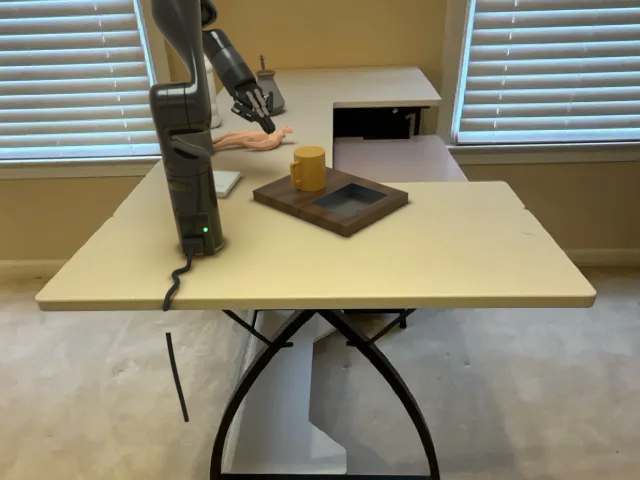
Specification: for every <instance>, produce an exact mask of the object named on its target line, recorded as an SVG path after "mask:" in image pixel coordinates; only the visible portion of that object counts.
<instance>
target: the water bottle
mask: <svg viewBox="0 0 640 480" xmlns="http://www.w3.org/2000/svg"><path fill="white" fill-rule="evenodd" d="M203 53H204V52H203ZM204 60H205V67H206V74H207V81H208V88H209V94H210V102H211V110H212V123H211V128H210V130H212V129H216V128H218V127H219V126H220V125H221V119H220V118H221V117H220V114H219V106H218V105H219V104H218V102H217V89H216V82H215V77H214V72H213V70H214V69H213V67H212V65H211V63H210V62H209V60H208V59H207V57H206V55H205V54H204Z"/></svg>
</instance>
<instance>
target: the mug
mask: <svg viewBox="0 0 640 480" xmlns="http://www.w3.org/2000/svg"><path fill="white" fill-rule="evenodd" d="M326 167H327V165H326V150H325V148H324V147H322V146H317V145H303V146H300V147H297V148H295V149H294V150H293V162H291V163H289V172H290V174H291V186H292V187H296V188H297V189H299V190H302V191H318V190H321V189H323V188H325V187H326ZM290 174H289V175H290Z"/></svg>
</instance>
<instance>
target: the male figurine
mask: <svg viewBox="0 0 640 480" xmlns="http://www.w3.org/2000/svg"><path fill="white" fill-rule="evenodd" d="M293 132H294V127H292V126H288V125H285V126H284V127H281V131H277V130H275V131H274V132H273V133H272V134H269V135H268V134H267V133H265V132H264V131H263V129H261V130H250V129H241V130H237V131H228V132H226V133H224V134H222V135H220V136H218V137H215V138H212V144H213V151H214V150H217V149H223V148H227V147H231V146H240V147H246V148H249V149H251V150H255V151H269V150H272V149H275V148H276V147H278V145H280V142H282V141H283V139H285V138H286V135H287V134H293Z"/></svg>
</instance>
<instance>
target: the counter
mask: <svg viewBox="0 0 640 480" xmlns="http://www.w3.org/2000/svg"><path fill="white" fill-rule="evenodd" d="M351 182H353V183H356V184H359V185H362V186H365V187H368V188H371V189H374V190H377V191H380V192H384V193H387V194H390V196H388V197H386V198H384V199H382V200H380V201H378V202H377V203H375V204H373V205H371V206H369V207H367V208H365V209H364V210H362V211H360V212H358V213H356V214H354V215H352V216H350V217H349V218H348V217H345V216H342V215H340V214H337V213H334V212H332V211H329V210H326V209H324V208H321V207H318V206H316V205H313V204H310V202H312V201H314V200H316V199H318V198H320V197H322V196H324V195H326V194H328V193H330V192H332V191H334V190H336V189H338V188H340V187H343V186H345V185H347V184H349V183H351ZM252 198H253V201H254V202H258V203H260V204H263V205H264V206H265V205H266V206H267V207H270V208H273V209H275V210H278V211H280V212H283V213H284V214H287V215H290V216H293V217H294V218H297V219H300V220H303V221H305V222H307V223H310V224H312V225H315V226H318V227H320V228H323V229H325V230H328V231H331V232H333V233H336V234H338V235H340V236H342V237H345V238H347V237H349V236H351V235H353V234H355V233H356V232H358V231H360V230H362V229H363V228H366V227H367V226H368V225H371V224H372V223H374V222H376V221H378V220H380V219H381V218H383V217H385V216H386V215H388V214H390V213H392V212H394V211H396V210H398V209H399V208H402V206H405V205H406V204H408V203H409V192H407V191H404V190H401V189H399V188H395V187H391V186H389V185H385V184H382V183H379V182H377V181H373V180H370V179H366V178H365V177H360V176H357V175H354V174H352V173H348V172H345V171H342V170H338V169H336V168H332V167H329V166H326V187H325V188H323V189H321V190H318V191H302V190H299V189H297V188H296V187H292V186H291V174H287V175H285V176H283V177H281V178H278V179H276V180H273V181H271V182H269V183H267V184H264V185H262V186H260V187H257V188H255V189H253V190H252Z"/></svg>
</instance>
